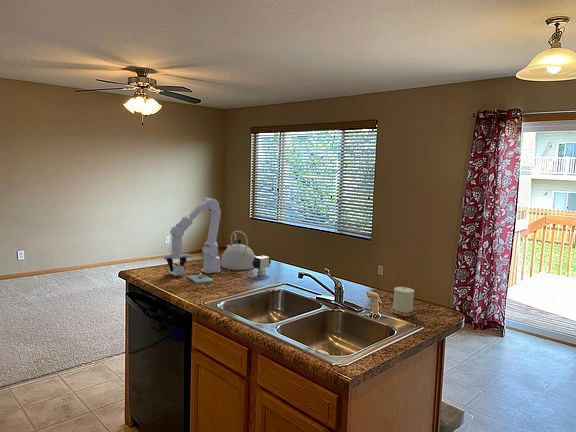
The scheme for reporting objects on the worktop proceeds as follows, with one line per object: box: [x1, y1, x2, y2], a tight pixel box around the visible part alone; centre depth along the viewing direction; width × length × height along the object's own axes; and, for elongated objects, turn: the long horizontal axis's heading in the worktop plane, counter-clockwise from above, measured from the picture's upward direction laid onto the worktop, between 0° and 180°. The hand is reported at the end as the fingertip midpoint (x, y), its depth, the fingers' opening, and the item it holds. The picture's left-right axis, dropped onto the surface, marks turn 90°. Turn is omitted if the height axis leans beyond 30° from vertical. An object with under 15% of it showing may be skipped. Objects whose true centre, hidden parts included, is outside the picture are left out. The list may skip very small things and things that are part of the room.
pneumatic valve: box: [252, 255, 272, 277], centre depth 258 cm, size 6×12×12 cm, turn 141°
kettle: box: [220, 230, 256, 271], centre depth 279 cm, size 25×23×22 cm
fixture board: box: [186, 273, 215, 285], centre depth 240 cm, size 10×14×1 cm
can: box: [392, 286, 415, 312], centre depth 202 cm, size 9×9×12 cm
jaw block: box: [168, 261, 185, 277], centre depth 246 cm, size 5×10×5 cm, turn 34°
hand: (176, 270), depth 246 cm, fingers closed on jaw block, 5 cm apart
